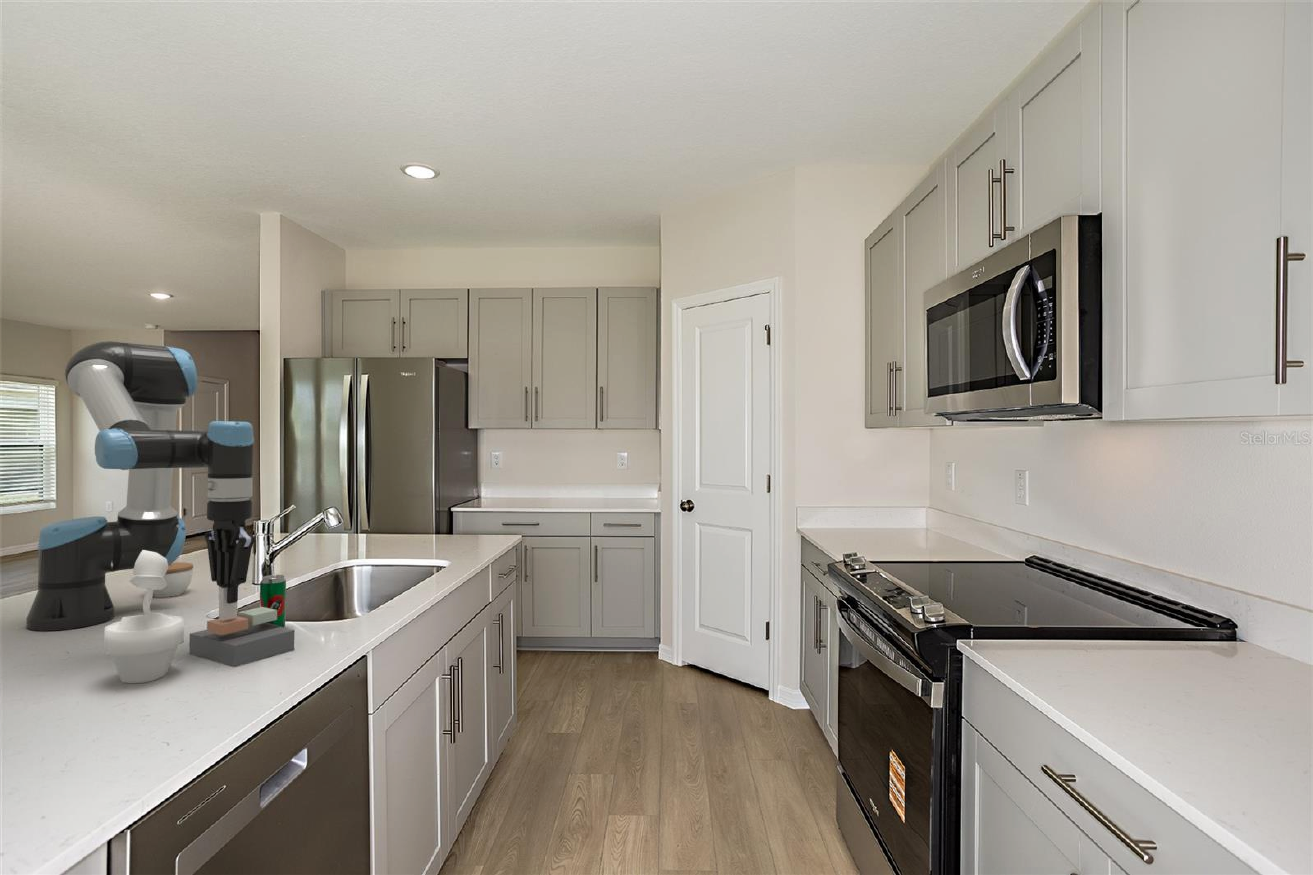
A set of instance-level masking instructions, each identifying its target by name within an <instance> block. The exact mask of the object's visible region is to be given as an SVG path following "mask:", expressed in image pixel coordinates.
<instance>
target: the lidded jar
mask: <svg viewBox="0 0 1313 875" xmlns="http://www.w3.org/2000/svg"><path fill="white" fill-rule="evenodd" d="M168 566H169V568H168V570H167V572H166V573H165V575H164V577H163V578H164V579H165V581H166V583H167V586H166V587H165V588H163V589H162V590H153V595H152V596H154V597H155V598H171V597H170V596H173V597H175V596H174V595H178V596H181V595H183V592H184V591H185V590H187V589H188V588H189V586H190V584H191V582H192V578H193V572H194V571H193V568H194V564H193V563H191V562H184V561H183V562H181V561H179V562H178V561H177V562H175V561H174V562H173V563H171V564H168ZM185 592H186V591H185ZM180 594H181V595H180Z"/></svg>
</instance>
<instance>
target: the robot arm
mask: <svg viewBox="0 0 1313 875" xmlns="http://www.w3.org/2000/svg"><path fill="white" fill-rule="evenodd" d="M197 373H198V372H197V368H196V365H195V362H194V359H193V357H192V356H191V354H190V353H189V352H188V351H186V350H185V349H183V348H177V347H172V346H167V345H164V346H163V345H156V344H155V345H153V344H141V343H131V342H130V343H128V342H119V341H99V342H96V343H92V344H90V345H89V344H88V345H87V346H85V347H82V348H81V349H80V350H78V351H76V352H75V353H74V354H73V355H71V357H70V358H69V360H68V361H67V363H66V366H65V368H64V378H65V381H66V384H67V386H68V387H69V389H70V390H71V391H72V392H73V394H75V395H76V396H78V397H80V398H81V399H82V401H83V403H84V405H85V406H86V408H87V410H88V412H89V414H90V416H91V418H92V419H93V421H94V424H95V426H96V427H97V429H98V433H97V435H96V437H95V441H94V456H95V460H96V464H97V465H98V466H99V467H100V468H102V469H104V470H106V469H107V470H121V471H128V478H127V479H128V480H127V490H126V492H127V493H126V506H125V507H123V508H122V509H121V510H120V511H118V512H117V520H116V521H108V520H107V518H106V517H105V516H98V515H97V516H89V517H87V516H86V517H79V518H71V519H66V520H62V521H57V522H53V523H50V524H47V525H45V526H44V527H42V528H41V530H40V531H39V538H38V544H37V548H36V549H37V550H38V566H37V568H38V569H37V571H38V572H37V574H38V576H37V593H36V596H35V598H34V600H33V602H32V605H31V607H30V608H29V611H28V613H27V617H26V629H28V630H32V631H39V632H40V631H43V632H44V631H45V632H46V631H63V630H64V631H65V630H72V629H79V628H85V627H90V626H94V625H98V624H102V623H105V622H108V621H110V620H112V619H113V618H114V617H115V606H114V603H113V600H112V598H111V596H110V594H109V591H108V588H107V586H106V574H107V573H108V572H116V571H117V572H118V571H127V570H133V569H134V565H135V562H136V560H137V558H138V556H139V555H140V553H141V552H142V550H146V551H151V552H156V553H158V554H160V555H161V556H163V557H164V558H166V559H167V562H168V564H171V563H174V562H175V561H177V560H178V559H179V557H180V556H181V554H182V552H183V549H184V547H185V543H186V542H185V541H186V534H187V532H186V531H185V530H186V523H185V521H184V519H182V518H181V517H178V511H177V510H176V509H174V508H173V507H172V505H171V503H172V502H171V500H172V489H173V488H172V487H173V473H174V469H194V468H196V469H197V468H207V484H206V488H207V498H208V499H211V500H209V501H208V502H207V503H206V519H207V520H208V521H212V522H213V524H212V530H211V531H209V532H205V533H204V539H205V542H206V546H207V554H208V563H209V571H210V579H211V582H216V585H217V586H218V619H219V620H221V621H225V620H230V619H234V618H237V616H238V601H239V598H238V597H239V586H240V585H241V584H246V582H247V578H248V572H249V566H250V561H251V560H250V559H251V554H252V548H253V546H254V543H255V540H256V537H255V536H254V535H252V536H249V535H248V533H247V531H248V529H247V528H248V527H247V525H246V521H247V520H249V519H251V518H252V516H253V501H252V500H251V499H250V498H252V497H253V489H254V488H253V485H254V484H253V483H254V482H253V469H254V468H253V466H254V465H253V462H254V461H253V460H254V442H255V438H254V427H253V425H252V423H251V422H248V421H235V420H234V421H230V420H229V421H228V420H225V421H224V420H213V421H211V422H210V423H209V425H208V430H177V422H178V412H179V410H180V409H181V408H183V407H184V406H186V402H187V401H186V400H187V398H190V397H193V396H194V395H196V392H197V391H196V390H197V387H198V374H197ZM123 555H124V556H123ZM111 563H112V564H113V566H111Z"/></svg>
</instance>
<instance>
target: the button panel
mask: <svg viewBox="0 0 1313 875" xmlns="http://www.w3.org/2000/svg"><path fill="white" fill-rule="evenodd" d="M295 634H296V633H295V629H293V628H288V627H280V626H278V625H274V624H270V623H261V624H257V625H249V624H248V629H245V630H241V631H237V632H233V633H229V634H225V635H219V634H215V633H211V632H208V631H207V629H203V630H201V631H200V630H198V631H196V632H191V633H189V641H188V642H189V645H188V646H189V647H188V648H189V652H188V654H190V655H193V656H196V657H199V658H203V659H206V660H209V661H213V662H216V663H220V664H223V665H227V666H230V667H233V668H235V667H239V666H242V665H245V664H249V663H250V664H251V663H253V662H255V661H259V660H264V659H267V658H269V657H273V656H277V655H280V654H284V653H286V652H292V651H294V650H295Z"/></svg>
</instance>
